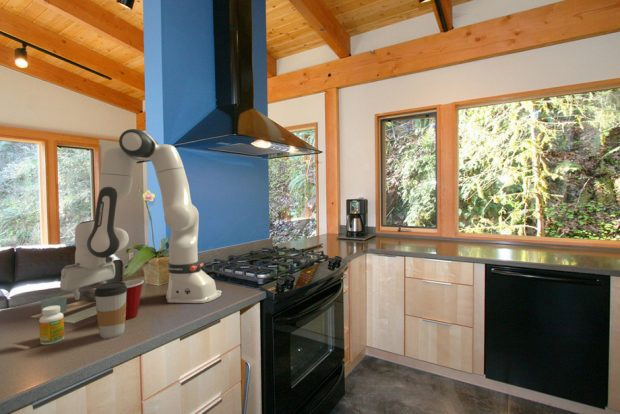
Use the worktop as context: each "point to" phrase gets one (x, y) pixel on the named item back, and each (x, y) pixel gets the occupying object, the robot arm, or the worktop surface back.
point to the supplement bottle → (51, 325)
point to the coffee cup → (111, 308)
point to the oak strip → (87, 299)
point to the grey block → (81, 315)
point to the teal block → (55, 303)
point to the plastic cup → (133, 297)
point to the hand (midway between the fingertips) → (89, 295)
